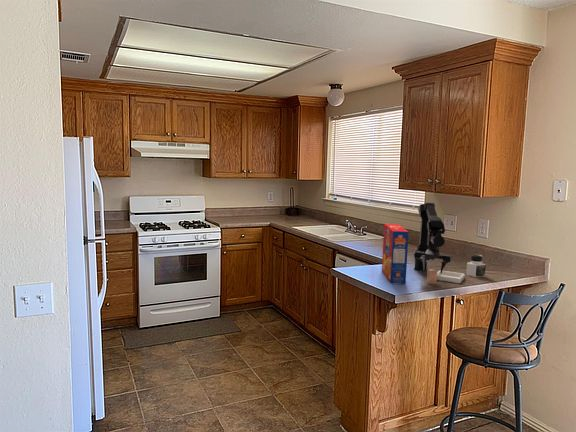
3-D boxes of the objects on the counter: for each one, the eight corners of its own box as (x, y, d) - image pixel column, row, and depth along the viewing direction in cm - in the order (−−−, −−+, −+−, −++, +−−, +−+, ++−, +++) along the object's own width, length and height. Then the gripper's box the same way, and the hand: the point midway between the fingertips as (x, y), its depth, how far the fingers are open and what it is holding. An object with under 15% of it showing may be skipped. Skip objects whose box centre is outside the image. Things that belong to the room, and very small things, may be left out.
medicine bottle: (475, 277, 249) (477, 256, 247) (466, 274, 255) (467, 254, 254) (485, 276, 252) (486, 255, 250) (475, 273, 258) (476, 253, 257)
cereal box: (381, 270, 260) (384, 223, 257) (395, 271, 260) (398, 224, 256) (390, 283, 232) (393, 231, 229) (405, 284, 232) (408, 231, 228)
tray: (433, 279, 242) (433, 275, 242) (439, 274, 254) (439, 270, 254) (459, 283, 235) (460, 279, 235) (464, 278, 247) (464, 273, 247)
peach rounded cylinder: (425, 283, 234) (426, 270, 233) (427, 281, 239) (428, 268, 238) (435, 284, 232) (435, 271, 231) (437, 282, 236) (438, 270, 235)
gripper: (412, 243, 230) (410, 272, 232) (449, 247, 221) (447, 278, 223) (417, 240, 240) (416, 268, 242) (453, 244, 230) (451, 273, 232)
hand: (432, 272), depth 234 cm, fingers open, 9 cm apart
